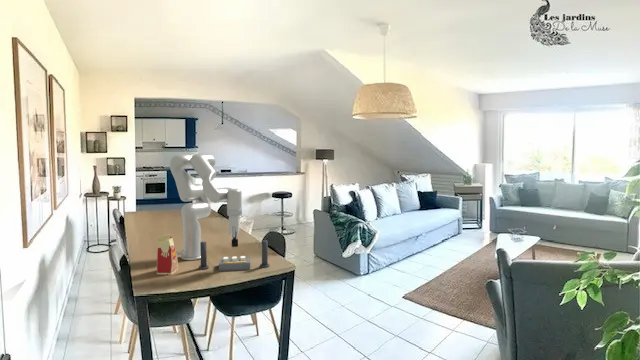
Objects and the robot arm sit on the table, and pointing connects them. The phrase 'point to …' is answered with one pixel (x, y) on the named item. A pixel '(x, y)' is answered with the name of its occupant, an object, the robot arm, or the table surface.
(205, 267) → the post
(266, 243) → the right cable post
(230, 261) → the switch panel
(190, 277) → the table surface
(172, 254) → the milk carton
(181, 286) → the table surface
